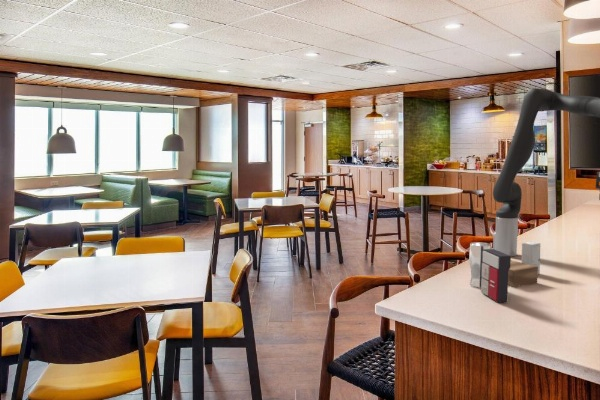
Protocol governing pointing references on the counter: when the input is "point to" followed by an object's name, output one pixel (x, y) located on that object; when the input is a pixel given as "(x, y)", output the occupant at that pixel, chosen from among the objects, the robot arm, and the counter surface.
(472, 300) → the counter surface
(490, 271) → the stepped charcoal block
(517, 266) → the walnut block
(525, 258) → the skincare box
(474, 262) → the beer glass
